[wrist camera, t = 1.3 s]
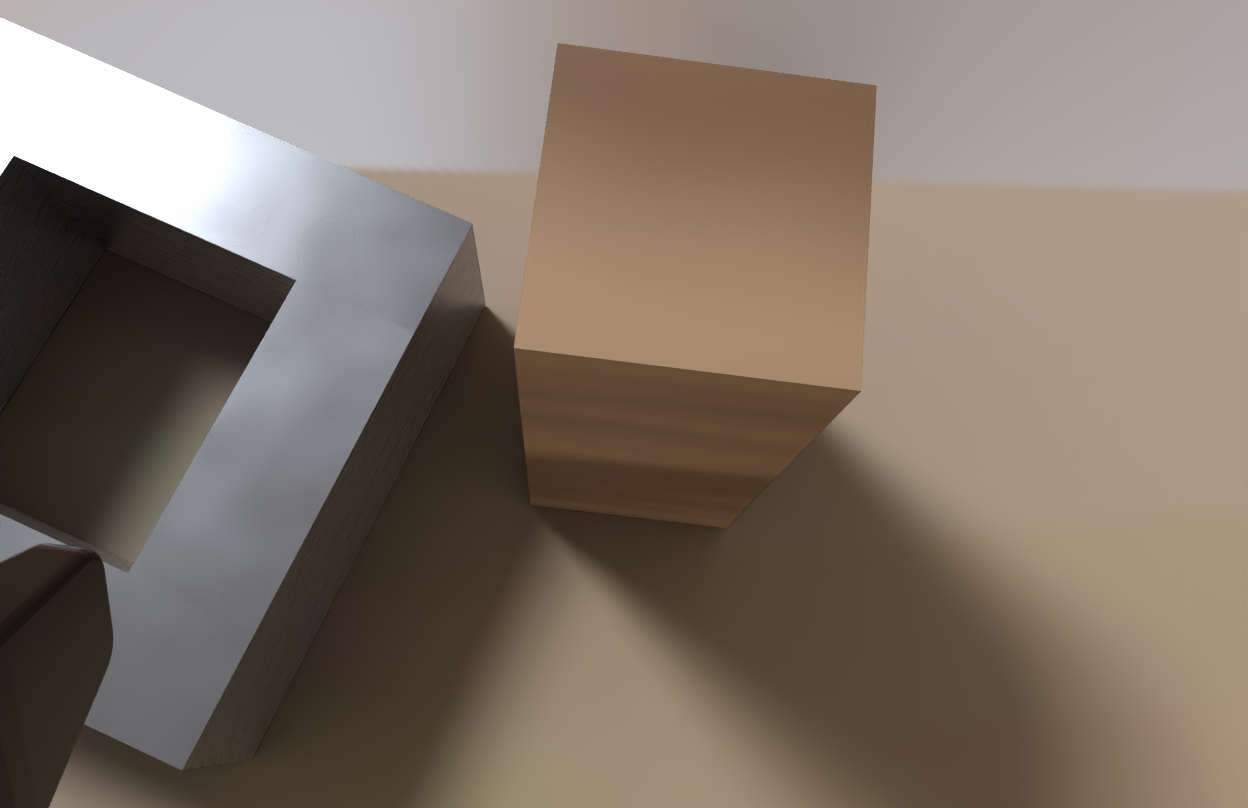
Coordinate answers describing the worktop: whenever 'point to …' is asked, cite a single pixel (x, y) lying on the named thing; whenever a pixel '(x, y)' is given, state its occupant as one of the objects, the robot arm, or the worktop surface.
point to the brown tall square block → (689, 281)
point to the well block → (266, 392)
